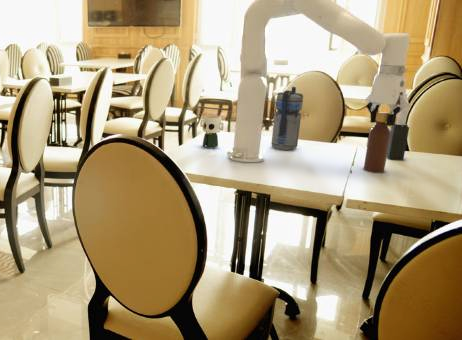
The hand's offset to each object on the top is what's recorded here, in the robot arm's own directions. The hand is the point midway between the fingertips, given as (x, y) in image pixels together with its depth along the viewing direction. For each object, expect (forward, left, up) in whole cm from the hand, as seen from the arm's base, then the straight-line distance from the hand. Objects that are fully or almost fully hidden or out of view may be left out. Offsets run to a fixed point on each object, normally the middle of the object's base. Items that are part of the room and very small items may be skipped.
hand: (382, 123), depth 178 cm
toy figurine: (-17, +58, -17) cm, 63 cm away
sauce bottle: (0, 0, -17) cm, 17 cm away
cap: (0, 0, +1) cm, 1 cm away
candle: (+25, +2, -17) cm, 30 cm away
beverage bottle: (+6, +38, -17) cm, 42 cm away
